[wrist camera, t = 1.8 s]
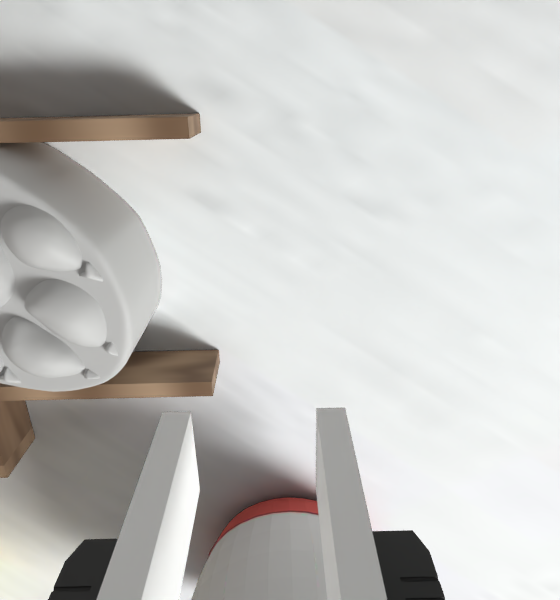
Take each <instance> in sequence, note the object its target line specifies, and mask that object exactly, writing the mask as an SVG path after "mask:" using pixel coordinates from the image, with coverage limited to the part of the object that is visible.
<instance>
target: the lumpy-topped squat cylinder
mask: <svg viewBox="0 0 560 600" xmlns="http://www.w3.org/2000/svg"><path fill="white" fill-rule="evenodd" d="M161 290H162V277H161V267H160V262H159V259H158V256H157V253H156V251H155V248H154V246H153V243H152V241H151V238H150V236H149V234H148V232H147V230H146V228H145V226H144V224H143V222H142V220H141V218H140V217H139V215H138V214H137V213H136V211H135V210H134V209H133V208H132V207H131V206H130V205H129V204H128V203H127V202H126V201H125V200H124V199H123V198H121V197H120V196H119V195H118V194H117V193H116V192H115V191H114V190H112V189H111V188H110V187H109V186H108V185H106V184H105V183H104V182H103V181H102V180H100V179H99V178H98V177H96V176H95V175H94V174H93V173H91V172H90V171H89V170H87V169H86V168H84V167H83V166H81V165H79V164H78V163H76V162H75V161H73V160H72V159H71V158H69V157H68V156H66V155H65V154H63V153H62V152H60V151H58V150H57V149H55V148H53V147H51V146H49V145H47V144H44V143H42V142H27V143H0V383H2V384H7V385H12V386H17V387H22V388H28V389H35V390H42V391H52V392H58V391H72V390H79V389H84V388H88V387H92V386H96V385H99V384H102V383H104V382H106V381H108V380H110V379H111V378H113V377H114V376H115V375H116V374H118V373H119V372H120V371H121V369H122V368H123V367H124V366H125V364H126V363H127V361H128V359H129V357H130V356H131V354H132V352H133V350H134V349H135V347H136V345H137V343H138V341H139V339H140V338H141V336H142V334H143V333H144V331H145V329H146V327H147V325H148V323H149V322H150V320H151V318H152V316H153V314H154V313H155V311H156V309H157V307H158V305H159V302H160V298H161Z"/></svg>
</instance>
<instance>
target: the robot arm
mask: <svg viewBox="0 0 560 600" xmlns="http://www.w3.org/2000/svg"><path fill="white" fill-rule="evenodd" d="M199 493H200V486H199V477H198V468H197V459H196V451H195V442H194V433H193V424H192V415H191V411H184V412H162V415H161V418H160V421H159V424H158V426H157V429H156V432H155V435H154V438H153V441H152V443H151V446H150V449H149V452H148V455H147V458H146V460H145V463H144V466H143V469H142V472H141V475H140V477H139V480H138V483H137V486H136V489H135V492H134V494H133V497H132V500H131V503H130V506H129V509H128V511H127V514H126V517H125V520H124V523H123V526H122V529H121V531H120V534H119V537H118V539H91V540H84V541H83V542H82V543H81V544H80V545H79V547H78V548H77V549H76V550H75V551H74V552H73V553H72V554H71V556H70V557H69V558H68V559H67V560H66V561H65V563H64V565H63V568H62V570H61V572H60V574H59V577H58V579H57V581H56V583H55V585H54V591H53V592H51V594H50V597H49V599H48V600H179V598H180V593H181V588H182V582H183V577H184V572H185V566H186V561H187V556H188V551H189V545H190V540H191V535H192V529H193V524H194V519H195V514H196V508H197V503H198V498H199ZM316 494H317V504H318V514H319V524H320V533H321V543H322V553H323V563H324V573H325V582H326V592H327V600H445V597H444V594H443V591H442V588H441V585H440V582H439V581H438V576H437V573H436V570H435V567H434V564H433V561H432V558H431V555H430V552H429V550H428V549H427V548H426V547H425V545H424V544H423V543H422V542H421V540H420V539H419V538H418V537H417V535H416V534H415V533H414V532H413V531H372V528H371V524H370V519H369V515H368V510H367V505H366V501H365V496H364V492H363V487H362V483H361V478H360V474H359V469H358V465H357V460H356V455H355V451H354V446H353V442H352V437H351V433H350V428H349V424H348V419H347V415H346V410H345V408H316Z"/></svg>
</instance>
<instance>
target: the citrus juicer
mask: <svg viewBox="0 0 560 600" xmlns="http://www.w3.org/2000/svg"><path fill="white" fill-rule="evenodd" d="M191 600H327V592H326V582H325V573H324V563H323V553H322V543H321V533H320V524H319V514H318V504H317V501H314V500H309V499H304V498H290V497H288V498H277V499H271V500H267V501H263V502H260V503H257V504H255V505H253V506H250V507H248V508H246V509H245V510H243V511H242V512H240V513H239V514H237V515H236V516H235V517H234V518H233V519H232V520H231V521H230V522H229V523H228V524H227V526H226V527H225V529H224V530H223V532H222V533H221V535H220V536H219V538H218V539H217V541H216V543H215V544H214V546H213V547H212V549H211V551H210V553H209V556H208V559H207V562H206V564H205V566H204V568H203V570H202V572H201V574H200V577H199V580H198V582H197V585H196V588H195V591H194V594H193V597H192V599H191Z"/></svg>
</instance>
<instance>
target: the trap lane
mask: <svg viewBox="0 0 560 600" xmlns="http://www.w3.org/2000/svg"><path fill="white" fill-rule="evenodd" d="M199 133H201V127H200V114H199V113H197V114H156V115H115V116H74V117H33V118H0V143H27V142H69V141H110V140H151V139H190V138H191V137H193V136H195V135H197V134H199ZM219 364H220V360H219V350H186V351H144V352H132V354H131V356H130V357H129V359H128V361H127V363H126V364H125V366H124V367H123V368H122V369H121V371H120V372H119V373H118V374H116V375H115V376H114V377H113V378H111V379H110V380H108V381H106V382H104V383H102V384H99V385H96V386H92V387H88V388H84V389H79V390H72V391H58V392H52V391H42V390H35V389H28V388H22V387H17V386H12V385H7V384H2V383H0V478H8V476H9V475H10V474H11V472H12V471H13V469H14V468H15V466H16V465H17V463H18V462H19V461H20V459H21V458H22V456H23V455H24V453H25V452H26V451H27V449H28V448H29V446H30V445H31V443H32V442H33V440H34V439H35V435H34V432H33V428H32V424H31V421H30V417H29V413H28V410H27V406H26V402H25V400H61V399H103V398H145V397H187V396H213V393H214V388H215V383H216V378H217V373H218V368H219Z"/></svg>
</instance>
